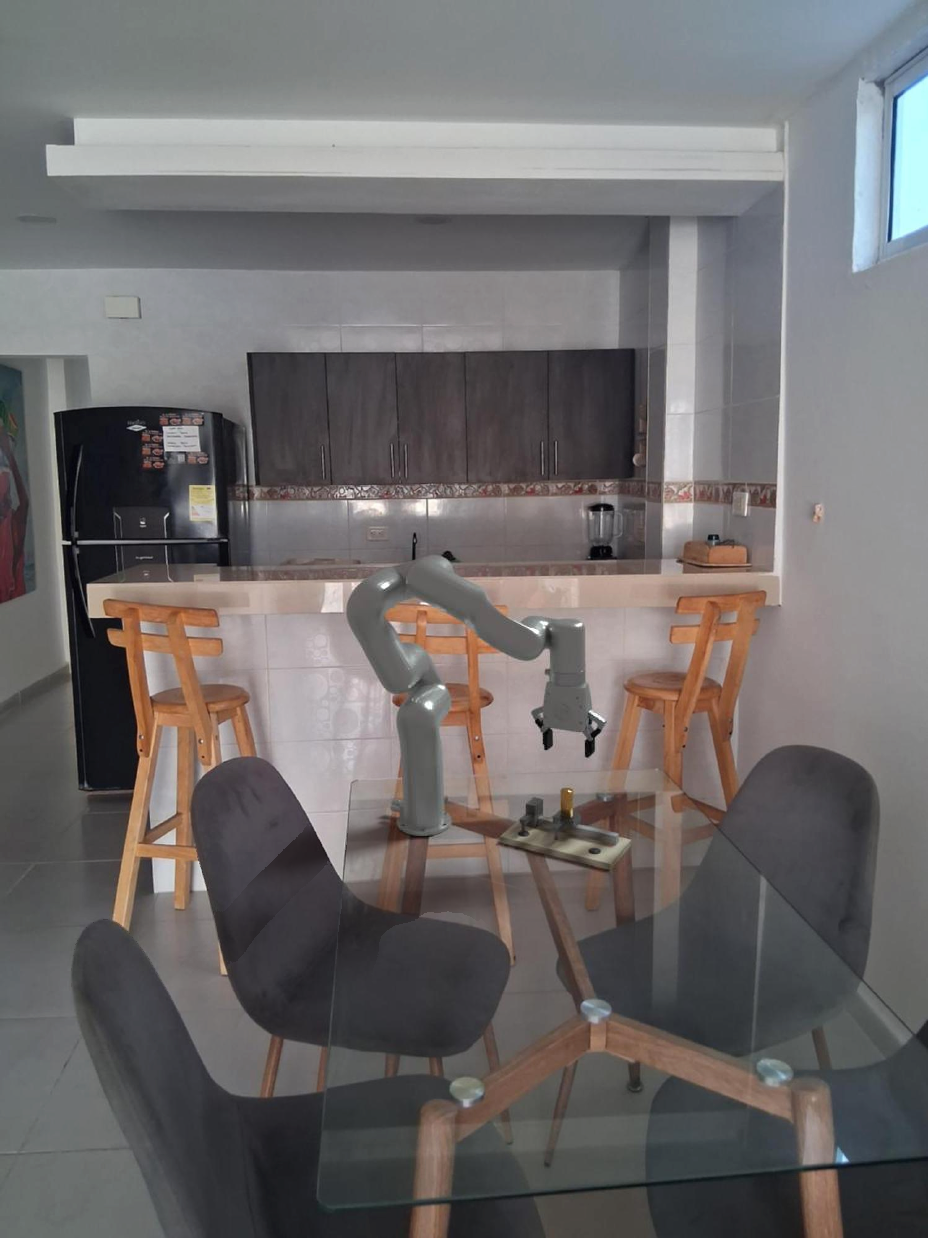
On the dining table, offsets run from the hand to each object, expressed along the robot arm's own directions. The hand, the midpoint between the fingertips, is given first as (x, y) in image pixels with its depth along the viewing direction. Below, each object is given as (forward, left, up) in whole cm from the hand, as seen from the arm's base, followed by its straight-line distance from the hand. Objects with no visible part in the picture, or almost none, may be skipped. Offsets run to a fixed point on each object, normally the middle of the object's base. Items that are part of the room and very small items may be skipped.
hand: (568, 751), depth 207 cm
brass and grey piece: (0, -2, -18) cm, 19 cm away
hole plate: (+1, -3, -21) cm, 21 cm away
